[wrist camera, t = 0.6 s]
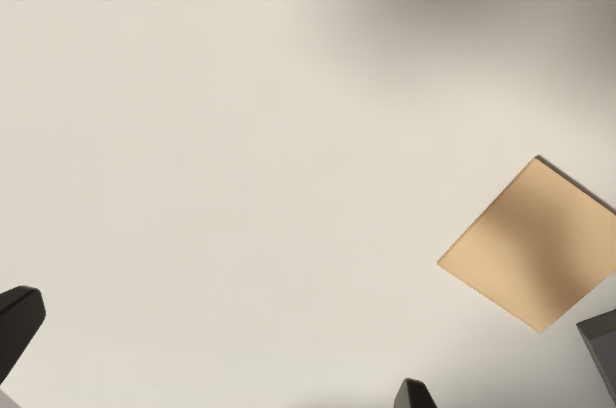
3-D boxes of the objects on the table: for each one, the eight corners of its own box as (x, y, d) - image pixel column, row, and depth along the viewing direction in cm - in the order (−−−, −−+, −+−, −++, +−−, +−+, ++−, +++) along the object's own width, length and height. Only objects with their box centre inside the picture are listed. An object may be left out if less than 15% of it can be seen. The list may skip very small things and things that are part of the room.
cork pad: (538, 330, 25) (540, 333, 24) (436, 262, 24) (437, 264, 24) (646, 237, 22) (649, 239, 22) (534, 157, 21) (536, 158, 21)
